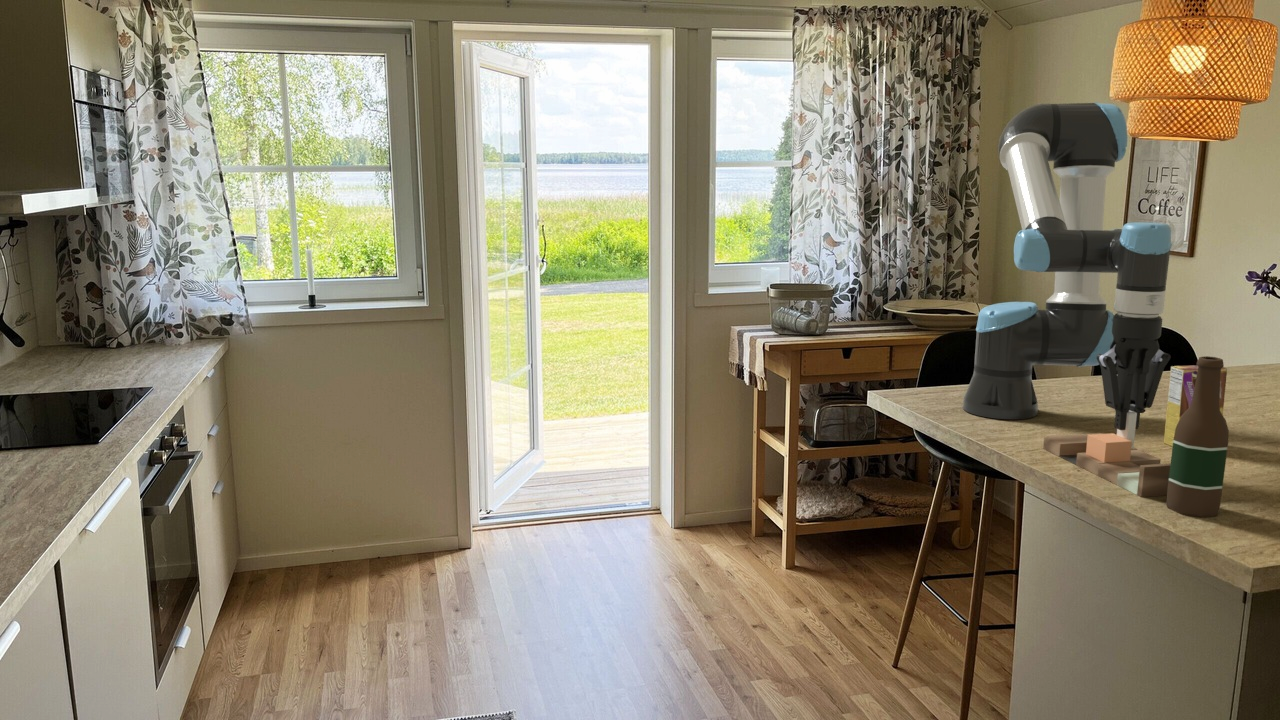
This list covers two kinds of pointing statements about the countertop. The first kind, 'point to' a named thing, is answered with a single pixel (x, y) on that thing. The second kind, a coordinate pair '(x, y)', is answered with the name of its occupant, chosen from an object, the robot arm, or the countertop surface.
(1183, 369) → the candy box
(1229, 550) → the countertop surface
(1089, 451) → the block
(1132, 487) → the board
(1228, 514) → the countertop surface
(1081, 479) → the countertop surface
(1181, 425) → the beer bottle
